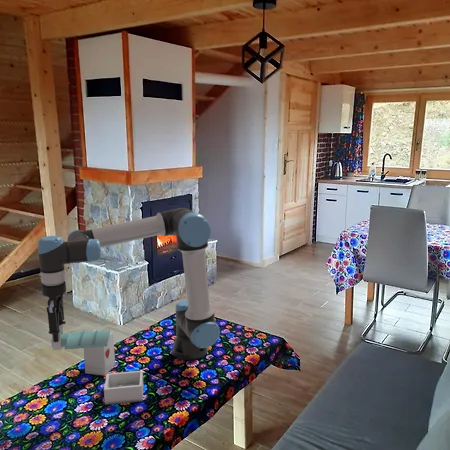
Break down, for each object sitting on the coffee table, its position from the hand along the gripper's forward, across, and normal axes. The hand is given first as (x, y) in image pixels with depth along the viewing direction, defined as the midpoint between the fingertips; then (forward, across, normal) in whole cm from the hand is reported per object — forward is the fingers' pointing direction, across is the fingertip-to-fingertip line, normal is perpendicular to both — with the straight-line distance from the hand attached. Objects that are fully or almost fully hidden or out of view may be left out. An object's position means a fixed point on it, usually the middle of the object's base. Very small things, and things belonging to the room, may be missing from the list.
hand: (58, 345), depth 147 cm
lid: (0, 0, +8) cm, 8 cm away
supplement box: (+22, -19, +11) cm, 31 cm away
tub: (+21, 0, +22) cm, 30 cm away
